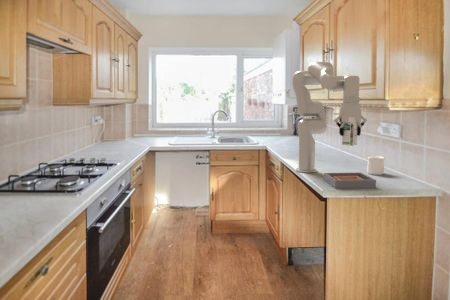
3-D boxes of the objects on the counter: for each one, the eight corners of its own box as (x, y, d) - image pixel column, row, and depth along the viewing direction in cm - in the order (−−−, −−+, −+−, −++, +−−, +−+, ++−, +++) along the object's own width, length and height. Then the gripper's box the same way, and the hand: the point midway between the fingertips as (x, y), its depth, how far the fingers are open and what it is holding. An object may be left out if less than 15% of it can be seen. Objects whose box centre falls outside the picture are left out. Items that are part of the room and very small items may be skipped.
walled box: (324, 180, 220) (324, 172, 219) (360, 179, 220) (361, 172, 220) (335, 188, 200) (335, 180, 199) (375, 187, 201) (375, 179, 200)
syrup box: (341, 145, 208) (342, 116, 206) (347, 144, 212) (348, 116, 211) (351, 145, 204) (352, 116, 202) (357, 144, 208) (358, 116, 207)
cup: (370, 175, 234) (370, 158, 232) (363, 172, 244) (364, 155, 242) (386, 175, 234) (387, 158, 233) (379, 171, 244) (380, 155, 243)
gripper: (365, 100, 210) (364, 134, 212) (331, 100, 209) (330, 135, 211) (370, 100, 202) (369, 136, 204) (336, 100, 201) (335, 136, 204)
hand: (349, 135), depth 208 cm, fingers closed on syrup box, 7 cm apart
